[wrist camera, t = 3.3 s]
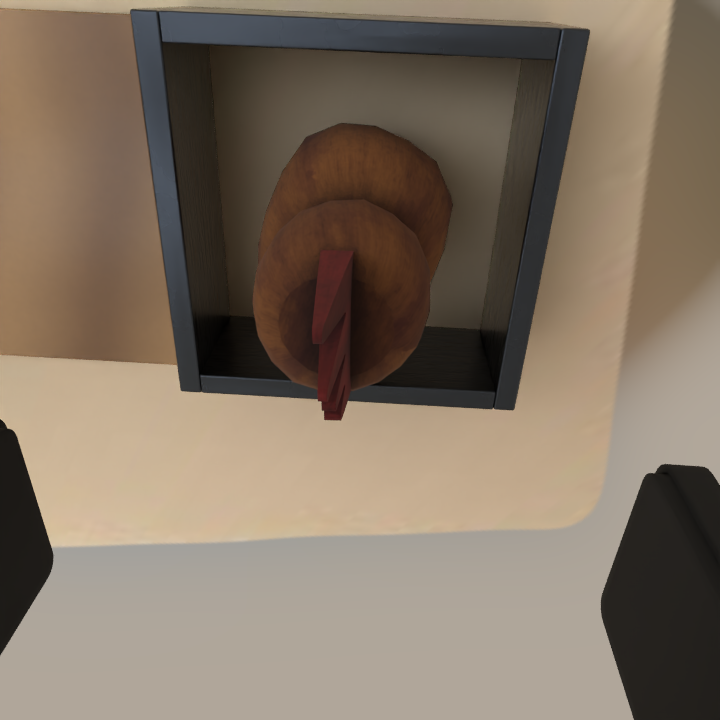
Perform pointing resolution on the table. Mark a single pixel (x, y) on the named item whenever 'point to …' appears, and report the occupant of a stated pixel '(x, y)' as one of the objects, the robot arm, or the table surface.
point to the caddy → (203, 203)
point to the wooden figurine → (349, 259)
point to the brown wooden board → (77, 194)
